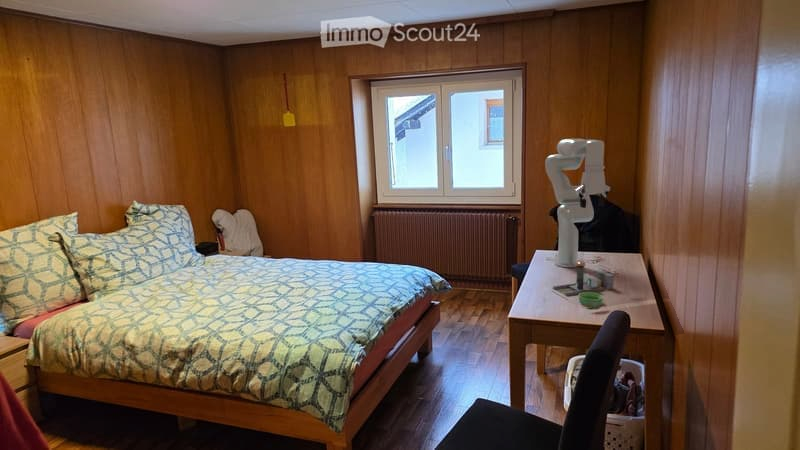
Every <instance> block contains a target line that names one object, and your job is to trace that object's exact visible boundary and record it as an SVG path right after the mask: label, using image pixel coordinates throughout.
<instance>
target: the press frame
mask: <svg viewBox="0 0 800 450" xmlns="http://www.w3.org/2000/svg"><path fill="white" fill-rule="evenodd" d="M594 277H596V278H597V279H600V280H601V288H594V289H586V290H579V291H575V290H573V289H571V288H569V286H572V285H576V282H575V283H574V282H573V283H567V284H560V285H553V287H551V289H552V290H551V292H552V293H553V294H556V295H558V296H559V297H561V298H563V299H564V300H565V299H566V300H567V301H569V299H568V298H566V297H575V296H579V294H580V293H584V292H592V293H597V294H599V293H604V292H611V291H618V289H616V288H614V283H615V282H614V278H615V276H614V274H612V273H610V272H607V271H605V270H602V269H601V270H595V276H594ZM553 290H555V291H557V292H558V293H560V294H562V295H564V296H566V297H564V296H562V295H560V294H558V293H557V292H555V291H553Z"/></svg>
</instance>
